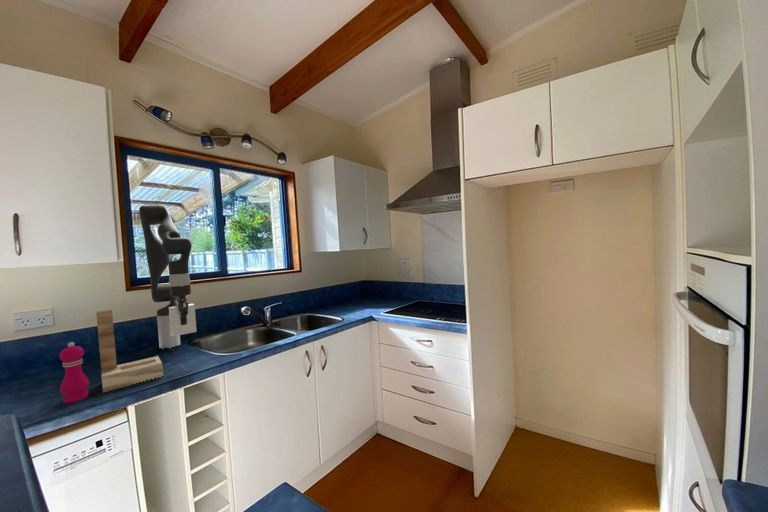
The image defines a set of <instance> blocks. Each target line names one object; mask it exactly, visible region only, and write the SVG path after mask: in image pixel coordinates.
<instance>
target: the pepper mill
mask: <svg viewBox="0 0 768 512" xmlns="http://www.w3.org/2000/svg"><path fill="white" fill-rule="evenodd" d="M84 354H85V350H84V348H82V347H81V346H79V345H75V342H73V341H71V342H68V343H67V347H65V348H63V349H62V350H61V352H60V353H59V359H60V361H62V362H61V363H62V364H61V365H62V367H63V368H64V371H65V374H64V378H63V380H62V382H61V384H60V388H59V392H60V394H62V395H64V396H63V397H62V402H63V403H64V404H71V402H72V403H76V402H79V400H80V401H81V400H84V399H86V398H87V397H89V391H88V388H89V386H90V381H89V378H88V377H87V376H86V375H85V373H84V371H83V369H82V364H83V363H84V361H83V360H84V359H83V358H82V357H83V356H84ZM75 401H76V402H75Z"/></svg>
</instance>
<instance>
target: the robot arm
mask: <svg viewBox="0 0 768 512" xmlns="http://www.w3.org/2000/svg"><path fill="white" fill-rule="evenodd" d="M138 213H139V214H138V215H139V219H140V224H141V228H142V232H143V233H142V234H143V237H144V245H145V254H146V255H145V256H146V260H147V266H148V271H149V279H150V291H151V292H150V293H151V299H152V301H153V303H164V302H169V303H168V304H167V305H165V306H164V307H160V308H159V309H157V310H156V320H157V322H156V323H157V332H158V344H159V349H160V348H161V350H165V349H164V348H169V349H173V348H172V347H174V348H176V347H175V346H177V347H179V346H181V335H178V336H173V337H172V336H171V330H170V318H169V307H175V306H178V311H179V312H180V320H181V325H186V324H187V315H188V304H189V301H188V298H186V296H190V295H191V294H192V288H191V287H192V286H191V277H190V270H189V262H190V261H189V260H190V255H191V251H192V245H193V244H192V241H191V240H190V239H189V238H187V237H181V233H180V232H179V231H178V230H177V228H176V227H175V225H174V223H173V220H172V217H171V215H170V212H169V210H168V208H167V207H166V206H165V205H163V204H149V205H148V204H147V205H145V204H144V205H140V206H139V209H138ZM153 225H159V226H158V228H157V234H158V236H159V237H160V238H159V237H158V236H157V235H156V233H154V231H153V229H152V226H153ZM170 255H180V257H178V258H177V259H173V260H171V259H170ZM167 267H168V273H169V276H168V277H169V279H168V283H163V284H159V280H160V279H161V277H162V275H163V274H164V272H165V271H166V269H167ZM180 308H181V309H180ZM183 311H185V312H183ZM182 312H183V313H182ZM178 345H179V346H178Z"/></svg>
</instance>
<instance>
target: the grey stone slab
mask: <svg viewBox="0 0 768 512" xmlns="http://www.w3.org/2000/svg"><path fill="white" fill-rule="evenodd" d="M180 309H181V308H180ZM183 312H185V311H183ZM183 312H182V313H183ZM169 318H170V330H171V336H172V337H173V336H178V335H180V336H182V335H187V334H192V333H197V320H196V319H197V318H196V307H195V304H194V303H190V304H189V303H188V315H187V324H186V325H181V320H180V312H179V311H178V306H175V307H169Z"/></svg>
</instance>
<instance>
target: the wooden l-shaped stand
mask: <svg viewBox="0 0 768 512" xmlns="http://www.w3.org/2000/svg"><path fill="white" fill-rule="evenodd" d="M96 325H97V336H98V348H99V357H100V358H99V360H100V368H101V369H100V370H101V371H100V372H101V385H102V393H107V392H110V390H111V391H113V390H118V389H122V388H125V387H129V386H132V384H133V385H136V383H137V384H140V383H139V382H141V383H144V382H147V381H146V380H148V381H151V380H150V379H152V380H155V379H154V378H156V379H158V377H159V378H163V377H164V369H163V367H164V366H163V362H162V360H161V359H160V357H159V355H156V356H153V357H148V358H144V359H139V360H135V361H131V362H126V363H122V364H118V363H117V351H116V342H115V339H116V338H115V330H114V329H115V328H114V317H113V309H105V310H99V311H96ZM162 376H163V377H162ZM143 381H144V382H143Z"/></svg>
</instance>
